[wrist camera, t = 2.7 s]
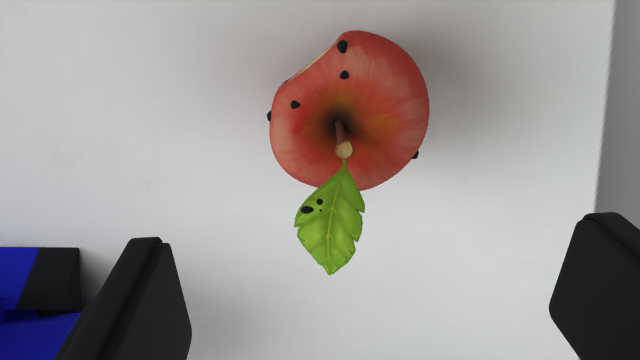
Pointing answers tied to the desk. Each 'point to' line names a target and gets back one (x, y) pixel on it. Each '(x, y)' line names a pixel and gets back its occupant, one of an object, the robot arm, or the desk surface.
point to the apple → (347, 135)
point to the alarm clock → (37, 300)
